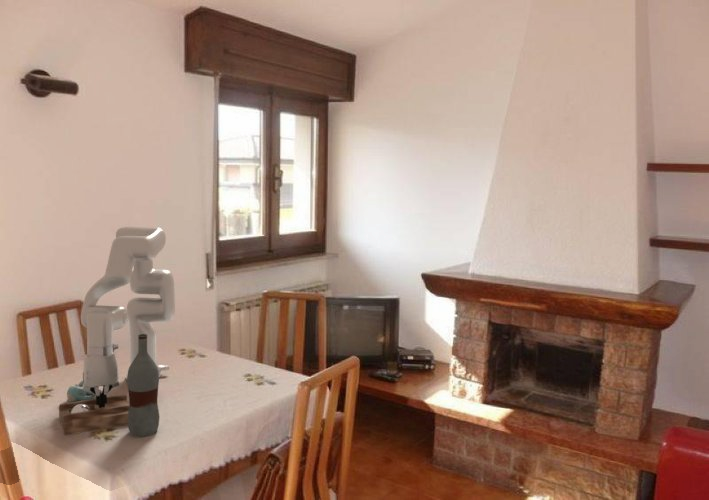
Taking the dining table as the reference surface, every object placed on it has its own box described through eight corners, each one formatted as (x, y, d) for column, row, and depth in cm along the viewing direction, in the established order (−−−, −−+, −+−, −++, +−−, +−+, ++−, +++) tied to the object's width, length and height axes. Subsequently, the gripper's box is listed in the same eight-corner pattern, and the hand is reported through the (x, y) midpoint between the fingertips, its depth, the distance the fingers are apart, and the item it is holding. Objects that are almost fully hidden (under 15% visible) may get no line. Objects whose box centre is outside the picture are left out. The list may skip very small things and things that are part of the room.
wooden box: (124, 406, 200) (124, 391, 200) (134, 422, 187) (134, 407, 186) (59, 416, 190) (58, 401, 189) (64, 435, 176) (64, 419, 176)
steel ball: (69, 401, 184) (65, 419, 185) (77, 410, 181) (73, 428, 181) (88, 399, 189) (84, 416, 190) (96, 408, 185) (92, 425, 186)
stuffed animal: (110, 382, 208) (79, 384, 198) (107, 402, 208) (76, 406, 198) (92, 376, 214) (61, 378, 204) (89, 396, 214) (57, 399, 204)
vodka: (160, 435, 178) (159, 337, 175) (127, 439, 175) (126, 339, 171) (158, 423, 187) (158, 330, 183) (127, 427, 183) (126, 332, 180)
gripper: (123, 344, 194) (124, 398, 196) (72, 349, 186) (74, 406, 188) (127, 350, 187) (128, 406, 189) (75, 356, 180) (77, 414, 182)
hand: (101, 406), depth 189 cm, fingers closed
